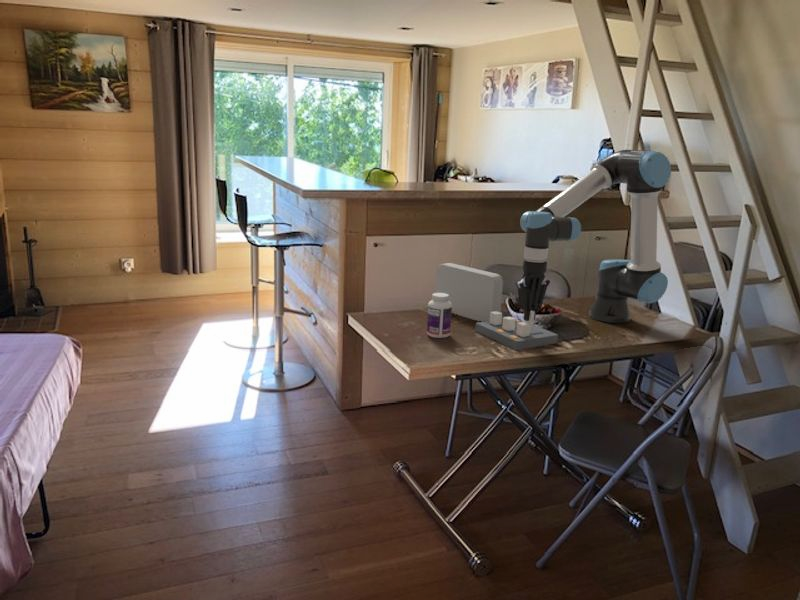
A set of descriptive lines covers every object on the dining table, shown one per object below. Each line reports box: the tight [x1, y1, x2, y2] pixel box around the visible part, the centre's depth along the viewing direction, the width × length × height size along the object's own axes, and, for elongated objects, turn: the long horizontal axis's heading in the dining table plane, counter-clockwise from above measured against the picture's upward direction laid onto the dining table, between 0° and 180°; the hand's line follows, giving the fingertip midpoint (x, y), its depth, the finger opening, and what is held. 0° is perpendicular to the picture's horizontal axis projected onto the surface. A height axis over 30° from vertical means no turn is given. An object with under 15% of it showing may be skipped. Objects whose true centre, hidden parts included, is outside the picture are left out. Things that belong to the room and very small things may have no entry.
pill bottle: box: [426, 292, 452, 339], centre depth 213 cm, size 8×8×14 cm
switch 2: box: [516, 322, 530, 337], centre depth 208 cm, size 3×3×4 cm
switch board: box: [474, 318, 559, 351], centre depth 216 cm, size 18×22×3 cm
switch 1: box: [489, 311, 503, 325], centre depth 219 cm, size 3×3×4 cm
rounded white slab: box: [434, 262, 504, 322], centre depth 239 cm, size 29×8×18 cm, turn 44°
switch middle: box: [502, 316, 516, 331], centre depth 214 cm, size 3×3×4 cm
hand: (528, 329), depth 209 cm, fingers closed
